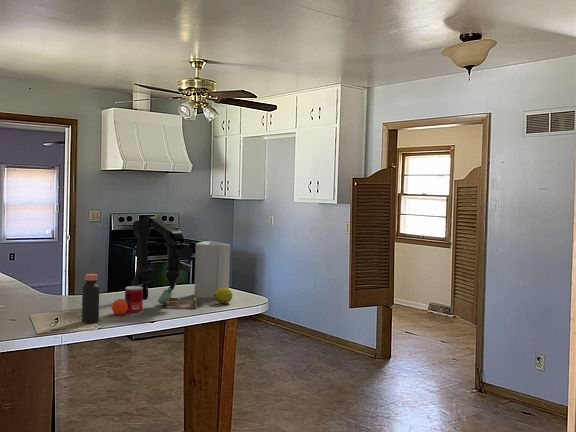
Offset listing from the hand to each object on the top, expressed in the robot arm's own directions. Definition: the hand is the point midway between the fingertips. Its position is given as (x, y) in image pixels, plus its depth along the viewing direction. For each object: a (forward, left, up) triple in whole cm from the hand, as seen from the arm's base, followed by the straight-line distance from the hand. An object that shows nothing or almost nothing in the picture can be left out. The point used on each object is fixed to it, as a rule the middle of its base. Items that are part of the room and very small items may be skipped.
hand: (172, 288), depth 289 cm
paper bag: (+18, +26, -9) cm, 33 cm away
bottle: (-5, 0, -7) cm, 9 cm away
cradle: (+4, 0, -8) cm, 9 cm away
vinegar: (-33, -33, -9) cm, 48 cm away
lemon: (+25, +6, -9) cm, 27 cm away
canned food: (-17, -12, -9) cm, 23 cm away
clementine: (-22, -19, -9) cm, 30 cm away
